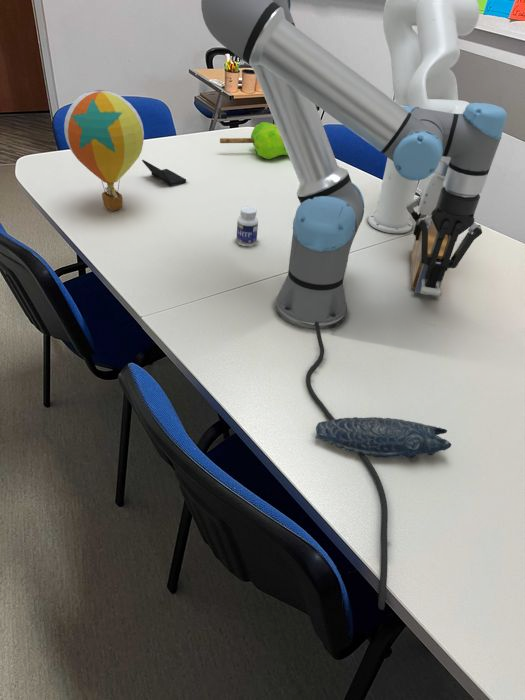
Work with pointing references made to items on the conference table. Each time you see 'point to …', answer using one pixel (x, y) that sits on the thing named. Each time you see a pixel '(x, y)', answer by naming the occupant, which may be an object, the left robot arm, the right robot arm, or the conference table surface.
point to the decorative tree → (263, 140)
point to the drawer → (422, 283)
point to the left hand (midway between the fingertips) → (428, 291)
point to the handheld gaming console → (165, 175)
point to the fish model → (382, 436)
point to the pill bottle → (247, 227)
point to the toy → (105, 138)
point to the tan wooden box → (417, 255)
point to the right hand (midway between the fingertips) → (430, 239)
